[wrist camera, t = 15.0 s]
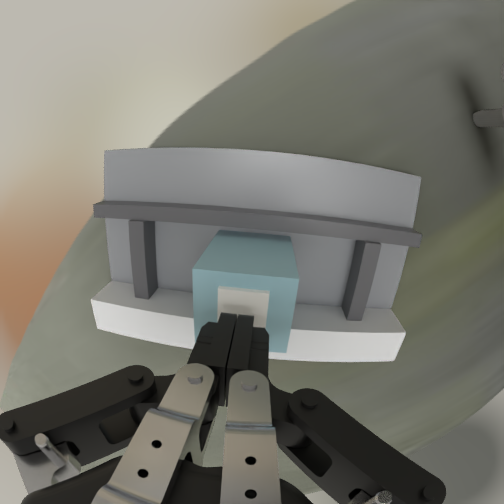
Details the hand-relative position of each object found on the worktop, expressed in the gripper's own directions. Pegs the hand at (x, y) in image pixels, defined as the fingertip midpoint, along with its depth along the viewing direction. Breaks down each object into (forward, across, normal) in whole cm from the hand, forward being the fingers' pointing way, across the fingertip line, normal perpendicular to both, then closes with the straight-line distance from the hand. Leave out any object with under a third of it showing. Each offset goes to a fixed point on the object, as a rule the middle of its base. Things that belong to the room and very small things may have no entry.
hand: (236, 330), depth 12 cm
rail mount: (+10, 0, 0) cm, 10 cm away
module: (+8, 0, 0) cm, 8 cm away
